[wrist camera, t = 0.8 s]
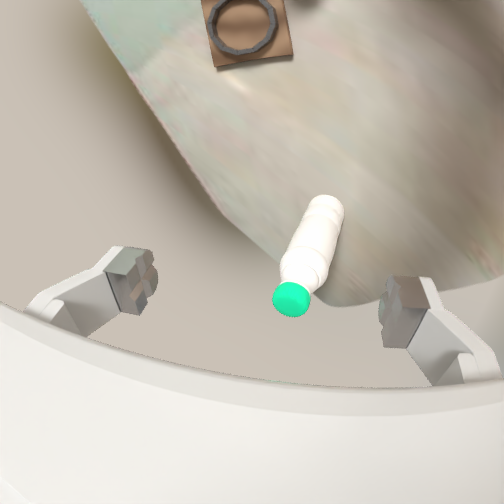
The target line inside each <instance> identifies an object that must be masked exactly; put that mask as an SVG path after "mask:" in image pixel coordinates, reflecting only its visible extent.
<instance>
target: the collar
mask: <svg viewBox="0 0 504 504" xmlns="http://www.w3.org/2000/svg"><path fill="white" fill-rule="evenodd" d="M230 1H232V0H220V1H219V2H218V3H217V4H216V5H214V6H213V8H212V10H211V12H210V15H209V18H208V21H207V26H208V31H209V36H210V39H211V40H212V41H213V42H214V43H215V44H216V45H217V46H218V48H219V49H220V50H222V51H226V52H229V53H232V54H235V55H244V54H249V53H255V52H259V51H260V50H261V49H263V48H264V47H265V46H267V45H268V44H269V43H270V42H272V41H273V38H274V36H275V33H276V31H277V28H278V26H279V23H278V18H277V13H276V9H275V8H274V7H273V6H272V5H271V4H270V3H269V2H268V1H267V0H259V1H260V2H261V3H262V4H263V5H264V6H265V7H266V8H267V9H268V14H269V19H270V26H269V29H268V31H267V34H266V36H265V38H264V39H263V40H261V41H260V42H259V43H258V44H256V45H255V46H254V47H253V48H248V49H242V50H238V49H235V48H232V47H228V46H227V45H226V44H225V43H224V42H223V41H222V40H221V39H220V37H219V36H218V31H217V27H216V22H217V19H218V16H219V13H220V10H221V9H223V8H224V7H225V6H226V5H227V4H228V3H229V2H230Z"/></svg>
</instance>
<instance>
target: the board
mask: <svg viewBox="0 0 504 504" xmlns="http://www.w3.org/2000/svg"><path fill="white" fill-rule="evenodd" d="M219 1H220V0H201V4H202V9H203V14H204V19H205V24H206V29H207V34H208V39H209V44H210V49H211V54H212V59H213V64H214V67H218V66H223V65H228V64H233V63H238V62H243V61H249V60H255V59H261V58H268V57H276V56H284V55H293V49H292V43H291V37H290V32H289V26H288V21H287V16H286V11H285V6H284V1H283V0H267V1H268V2H269V3H270V4H271V5H272V6H273V7H274V8H275V9H276V13H277V18H278V23H279V26H278V28H277V31H276V33H275V36H274V38H273V41H272V42H270V43H269V44H268V45H267V46H265V47H264V48H263V49H261V50H260V51H259V52H255V53H249V54H244V55H235V54H232V53H229V52H226V51H222V50H220V49H219V48H218V46H217V45H216V44H215V43H214V42H213V41H212V40H211V39H210V36H209V31H208V26H207V21H208V18H209V15H210V12H211V10H212V8H213V6H214V5H216V4H217V3H218V2H219ZM269 26H270V19H269V14H268V9H267V8H266V7H265V6H264V5H263V4H262V3H261V2H260V1H259V0H232V1H230V2H229V3H228V4H227V5H226V6H225V7H224V8H223V9H221V10H220V13H219V16H218V19H217V22H216V27H217V31H218V36H219V37H220V39H221V40H222V41H223V42H224V43H225V44H226V45H227V46H228V47H232V48H235V49H238V50H242V49H248V48H253V47H254V46H255V45H256V44H258V43H259V42H260V41H261V40H263V39H264V38H265V36H266V34H267V31H268V29H269Z"/></svg>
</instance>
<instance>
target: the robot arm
mask: <svg viewBox="0 0 504 504" xmlns="http://www.w3.org/2000/svg"><path fill="white" fill-rule="evenodd" d="M153 261H154V257H153V254H152V252H151V251H150V250H148V249H141V248H134V247H125V246H118V245H117V246H113V247H112V248H111V249H110V250H109V251H108V252H107V253H106V254H105V255H104V256H103V257H102V259H101V260H100V261H99V262H98V263H97V264H96V265H95V266H94V267H93V268H92V269H87V270H85V271H83V272H81V273H79V274H77V275H74V276H72V277H70V278H68V279H66V280H64V281H62V282H60V283H58V284H56V285H54V286H51V287H49V288H47V289H46V290H43V291H41V292H40V293H38V295H37V296H36V297H35V298H34V299H33V300H32V302H31V303H30V304H29V305H28V306H27V307H26V308H25V310H24V311H23V312H21V311H19V310H17V309H15V308H13V307H11V306H9V305H7V304H4V303H2V302H0V504H504V378H503V377H502V374H501V371H500V368H499V365H498V363H497V360H496V357H495V354H494V351H493V350H492V349H491V348H490V347H489V346H488V345H487V344H486V343H485V342H483V341H482V340H481V339H480V338H479V337H478V336H477V335H476V334H475V333H474V332H473V331H471V329H469V328H468V327H467V326H466V325H465V324H464V323H463V322H462V321H460V320H459V319H458V318H457V317H456V316H455V315H454V314H453V313H451V312H450V311H449V310H445V309H444V306H443V304H442V301H441V299H440V296H439V294H438V292H437V289H436V287H435V285H434V283H433V280H432V279H431V278H430V277H410V276H398V275H390V276H389V277H388V279H387V282H386V288H387V291H386V292H385V293H384V294H383V295H382V297H381V300H380V304H379V322H380V323H381V324H382V325H383V326H384V327H383V329H382V331H381V333H382V339H383V345H384V347H389V348H406V350H407V351H408V353H409V354H410V355H411V357H412V358H413V359H414V361H415V362H416V363H417V365H418V366H419V368H420V369H421V370H422V372H423V373H424V375H425V376H426V377H427V379H428V380H429V382H430V383H431V384H432V386H430V387H410V388H362V387H336V386H321V385H308V384H298V383H288V382H280V381H271V380H264V379H257V378H250V377H244V376H237V375H231V374H225V373H220V372H215V371H209V370H205V369H200V368H195V367H190V366H185V365H181V364H176V363H173V362H169V361H165V360H160V359H156V358H153V357H149V356H145V355H142V354H138V353H134V352H131V351H127V350H124V349H121V348H117V347H114V346H111V345H108V344H104V343H101V342H99V341H96V340H92V339H90V338H87V336H88V335H90V334H91V333H93V332H94V331H96V330H97V329H98V328H100V327H101V326H102V325H104V324H105V323H107V322H108V321H110V320H111V319H112V318H114V317H115V316H117V315H118V314H119V313H120V312H125V313H129V314H134V315H139V316H140V314H141V313H142V311H143V310H144V308H145V306H146V305H147V303H148V302H147V298H148V297H150V296H151V295H153V294H154V292H155V290H156V288H157V284H158V274H157V270H156V269H155V268H154V266H153V265H152V263H153Z"/></svg>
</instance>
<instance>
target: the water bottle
mask: <svg viewBox="0 0 504 504" xmlns="http://www.w3.org/2000/svg"><path fill="white" fill-rule="evenodd" d="M343 219H344V208H343V206H342V204H341V203H340V202H339V201H338V200H337V199H336V198H334V197H332V196H329V195H319V196H317V197H315V198H313V199H312V200H311V201H310V203H309V205H308V207H307V210H306V212H305V214H304V215H303V217H302V220H301V223H300V225H299V226H298V228H297V230H296V231H295V233H294V235H293V237H292V239H291V241H290V244H289V246H288V249H287V251H286V253H285V254H284V255H283V257H282V259H281V262H280V273H281V283H280V284H279V286H278V287H277V288H276V290H275V292H274V294H273V298H272V301H273V305H274V307H275V308H276V309H277V310H278V311H279V312H280V313H281V314H284V315H286V316H289V317H298V316H301V315H303V314H304V313H305V312H306V311H307V310H308V307H309V304H310V298H311V294H312V293H313V292H314V291H315V290H316V289H318V288H319V287H321V286H322V285H323V284H324V282H325V281H326V279H327V277H328V272H329V267H330V264H331V262H332V259H333V256H334V252H335V248H336V244H337V238H338V236H339V233H340V230H341V225H342V222H343Z"/></svg>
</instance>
